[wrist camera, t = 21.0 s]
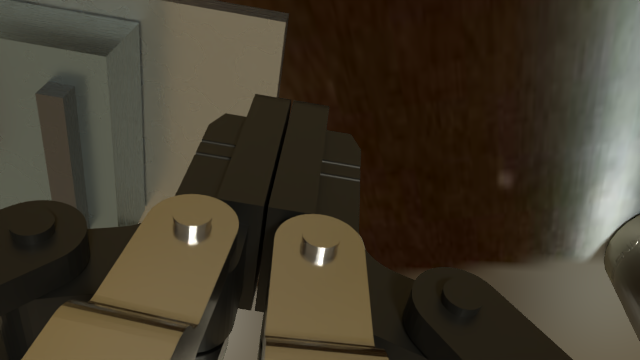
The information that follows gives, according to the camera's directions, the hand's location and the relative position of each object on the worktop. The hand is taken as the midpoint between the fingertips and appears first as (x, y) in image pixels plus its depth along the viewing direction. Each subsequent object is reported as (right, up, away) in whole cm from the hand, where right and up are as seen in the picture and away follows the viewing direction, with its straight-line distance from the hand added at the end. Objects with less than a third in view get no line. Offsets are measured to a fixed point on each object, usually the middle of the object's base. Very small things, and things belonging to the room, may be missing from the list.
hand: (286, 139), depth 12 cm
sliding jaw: (-16, +3, +25) cm, 30 cm away
